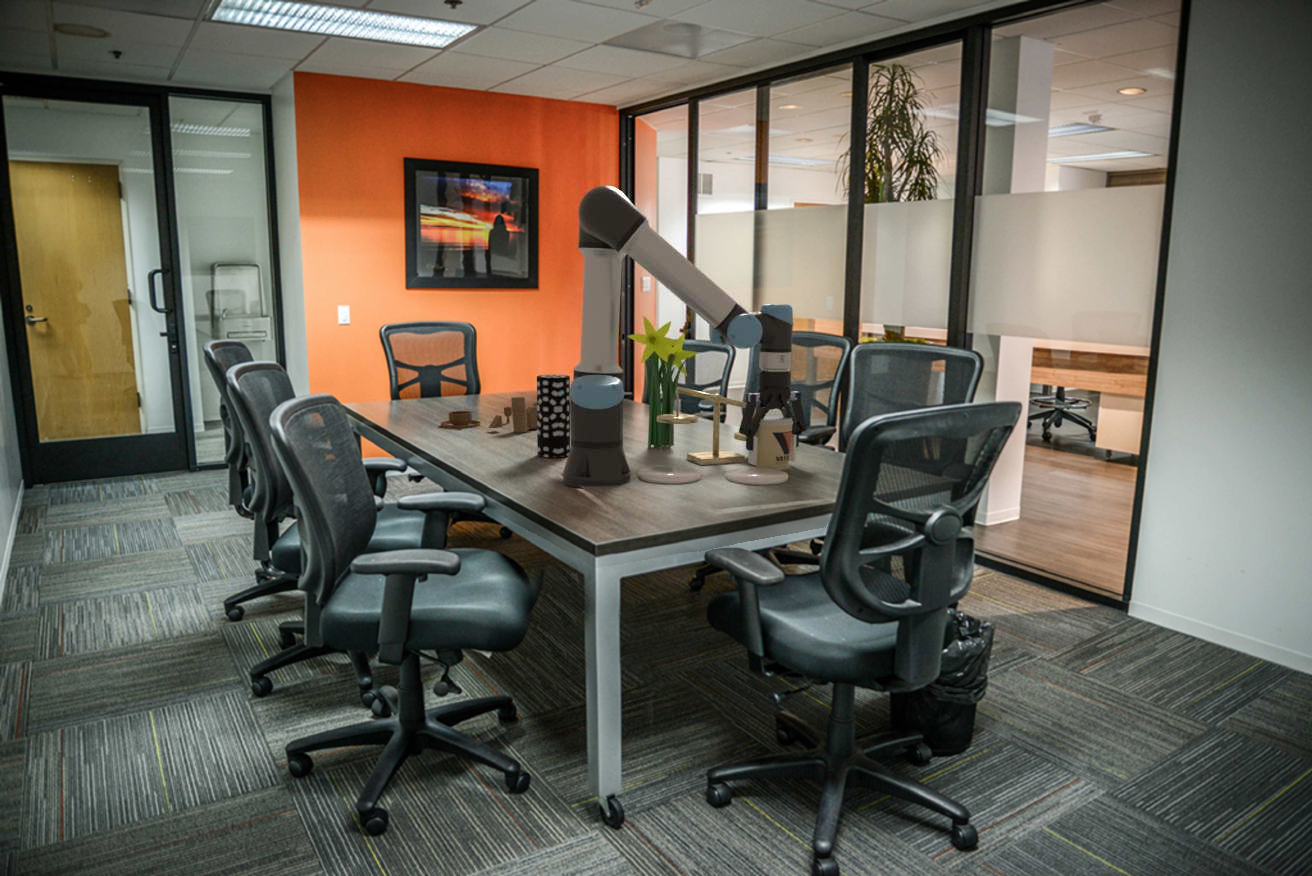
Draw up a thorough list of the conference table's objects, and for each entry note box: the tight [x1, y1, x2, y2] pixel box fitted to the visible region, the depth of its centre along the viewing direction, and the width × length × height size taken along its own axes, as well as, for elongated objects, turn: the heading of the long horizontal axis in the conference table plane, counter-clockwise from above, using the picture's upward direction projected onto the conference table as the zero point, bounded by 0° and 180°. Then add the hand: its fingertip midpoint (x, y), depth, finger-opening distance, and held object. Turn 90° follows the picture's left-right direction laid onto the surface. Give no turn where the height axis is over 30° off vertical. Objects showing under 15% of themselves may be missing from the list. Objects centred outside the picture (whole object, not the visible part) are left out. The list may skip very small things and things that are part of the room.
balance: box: [657, 386, 757, 466], centre depth 221 cm, size 31×10×19 cm, turn 114°
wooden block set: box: [488, 396, 537, 434], centre depth 264 cm, size 18×9×10 cm, turn 131°
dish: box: [725, 467, 789, 486], centre depth 202 cm, size 14×14×1 cm
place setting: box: [440, 406, 512, 431], centre depth 272 cm, size 18×20×6 cm
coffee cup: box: [755, 414, 793, 471], centre depth 214 cm, size 9×9×12 cm
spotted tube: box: [536, 374, 571, 458], centre depth 226 cm, size 8×8×20 cm
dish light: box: [638, 466, 701, 485], centre depth 202 cm, size 14×14×1 cm
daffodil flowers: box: [627, 316, 699, 449], centre depth 236 cm, size 17×15×35 cm
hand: (772, 462), depth 215 cm, fingers open, 10 cm apart
